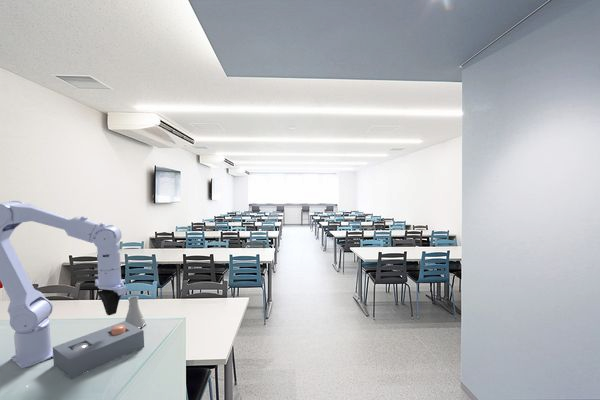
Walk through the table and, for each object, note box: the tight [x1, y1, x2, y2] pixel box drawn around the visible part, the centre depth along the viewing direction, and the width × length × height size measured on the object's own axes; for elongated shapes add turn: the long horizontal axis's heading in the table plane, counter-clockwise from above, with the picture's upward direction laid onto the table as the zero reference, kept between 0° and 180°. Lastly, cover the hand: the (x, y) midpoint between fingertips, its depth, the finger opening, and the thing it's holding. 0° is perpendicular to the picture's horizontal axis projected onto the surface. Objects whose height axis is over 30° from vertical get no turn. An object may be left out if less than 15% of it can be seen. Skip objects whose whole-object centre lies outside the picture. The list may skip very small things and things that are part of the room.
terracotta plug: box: [111, 325, 126, 336], centre depth 97 cm, size 4×4×4 cm
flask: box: [124, 295, 146, 327], centre depth 110 cm, size 7×7×10 cm
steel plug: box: [72, 343, 89, 352], centre depth 89 cm, size 4×4×4 cm
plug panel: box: [52, 320, 145, 380], centre depth 93 cm, size 11×19×5 cm, turn 145°
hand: (111, 313), depth 96 cm, fingers closed
